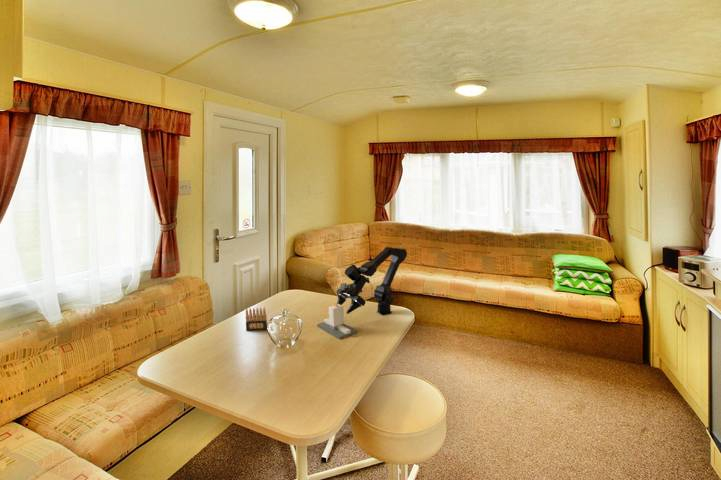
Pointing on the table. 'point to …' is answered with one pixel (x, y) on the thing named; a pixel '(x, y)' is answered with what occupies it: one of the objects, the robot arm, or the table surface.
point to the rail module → (336, 316)
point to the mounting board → (337, 329)
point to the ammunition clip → (256, 320)
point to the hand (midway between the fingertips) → (341, 311)
